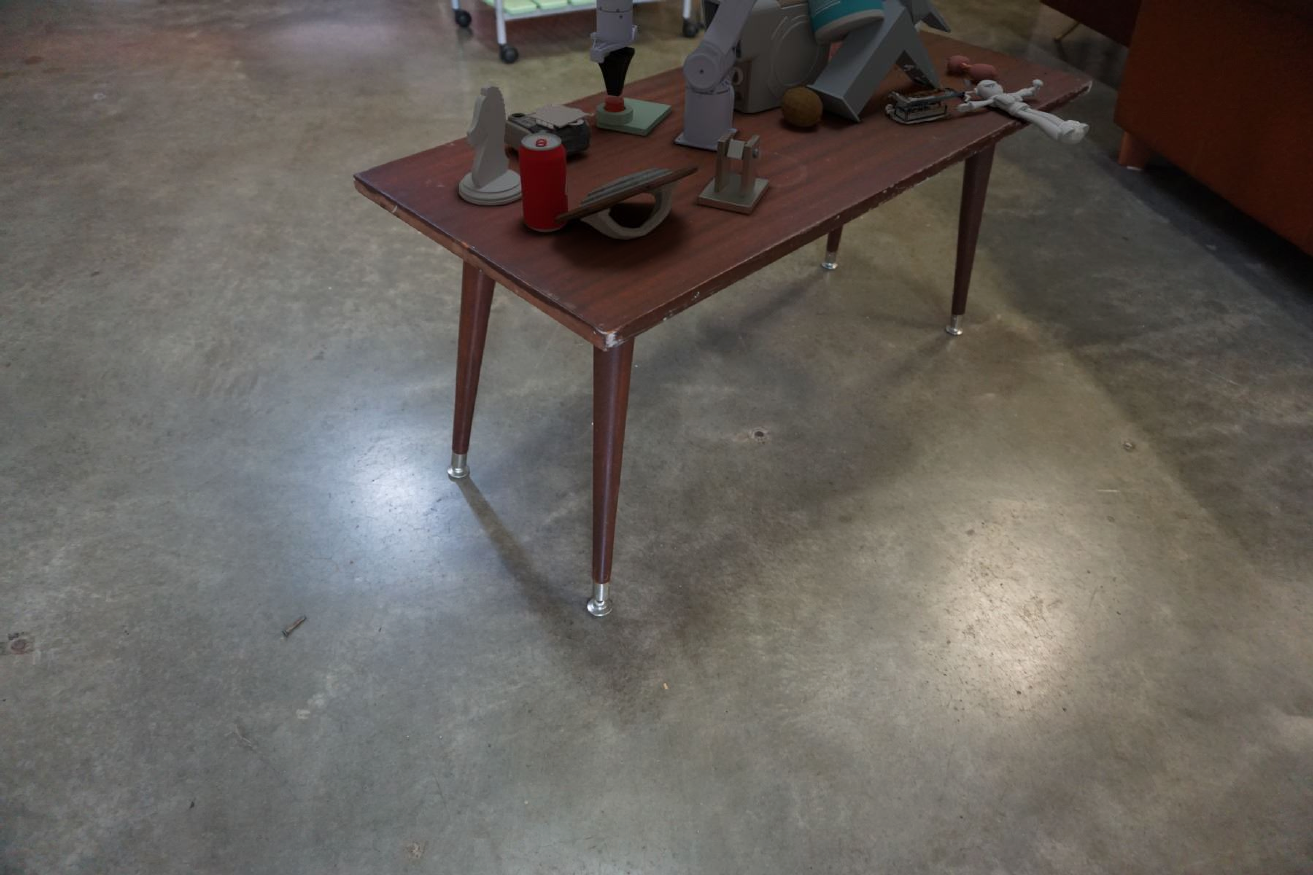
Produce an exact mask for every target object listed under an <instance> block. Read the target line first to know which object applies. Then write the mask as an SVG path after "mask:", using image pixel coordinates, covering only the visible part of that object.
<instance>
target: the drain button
mask: <svg viewBox="0 0 1313 875" xmlns="http://www.w3.org/2000/svg"><path fill="white" fill-rule="evenodd" d="M623 98H624V97H623ZM623 98H622V97H620V96H619V97H617V96H609V97H606V98H605V99H604V103H605V110H606V111H608V112H621V111H624V99H623Z"/></svg>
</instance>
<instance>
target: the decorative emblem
mask: <svg viewBox="0 0 1313 875" xmlns="http://www.w3.org/2000/svg"><path fill="white" fill-rule="evenodd" d="M541 110H542V111H541ZM535 112H536V114H533V115H531V116H530V118H533V119H535V120H536V124H539V125H542V126H545V127H548V128H550V129H553V126H556V127H559V128H561V127H564V126H566V125H580V124H582V123H583V122H584V121H583V120H582V118H584V119H585V118H587V117H593V116H595V113H593V112H589V113H587V112H584V111H583V110H582V109H580V108H572V107H568V106H566V105H564V104H563V105H562V104H560V103H558V104H555V105H553V102H551V103H548V104H546V105H544V106H541V107H538V108H536V109H535ZM575 121H577V123H573V122H575ZM547 124H548V126H547Z"/></svg>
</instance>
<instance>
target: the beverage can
mask: <svg viewBox="0 0 1313 875" xmlns="http://www.w3.org/2000/svg"><path fill="white" fill-rule="evenodd" d="M518 166H519V176H520V179H521V191H522V197H521V201H522V214H523V222H524V224H525V225H526V226H527V227H528V228H530V229H532V230H533V231H536V232H540V233H551V232H555V231H558V230H560V229H562V228H563V227H564V226H566V225H567V224H568V223H569V220H567V221H564V222H562V223H555V221H554V220H555V218H556V217H557V216H558V215H561V214H563V213H566V212H568V211H569V194H568V192H569V191H568V172H567V156H566V151H565V148H564V146H563V145H562V143H561V139H560V137H558V136H556V135H554V134H549V133H535V134H530V135H527V136H525V137H524V138H523V139H522V144H521V146H520V149H519V153H518Z"/></svg>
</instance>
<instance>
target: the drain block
mask: <svg viewBox="0 0 1313 875" xmlns="http://www.w3.org/2000/svg"><path fill="white" fill-rule="evenodd" d="M623 99H624V111H621V112H608V111H606V110H605V102H601V103H599V104H597V105H596V107H595V114H596V116H595V117H596V128H600V129H605V130H612V131H617V132H621V133H627V134H632V135H638V136H644V137H646V136H647V135H648V134H650V133H651V132H652V131H653V129H655V128H656V127H657V126H658V125H659V124H660V123H661V122H662V121H663V120H664V119H666V118H667V117H668V115H670V114H671V112H672V105H669V104H664V103H658V102H653V101H646V100H642V99H637V98H636V99H635V98H631V97H623Z"/></svg>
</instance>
